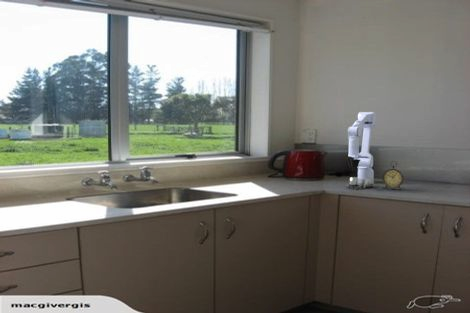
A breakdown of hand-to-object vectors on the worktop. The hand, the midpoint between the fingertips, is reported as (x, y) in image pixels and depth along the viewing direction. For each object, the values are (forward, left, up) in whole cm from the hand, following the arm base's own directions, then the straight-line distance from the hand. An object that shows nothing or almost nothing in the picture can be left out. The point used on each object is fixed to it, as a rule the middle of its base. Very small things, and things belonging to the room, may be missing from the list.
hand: (353, 170), depth 241 cm
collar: (+2, +3, -10) cm, 11 cm away
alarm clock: (-16, +15, -10) cm, 24 cm away
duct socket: (-2, +3, -10) cm, 11 cm away
